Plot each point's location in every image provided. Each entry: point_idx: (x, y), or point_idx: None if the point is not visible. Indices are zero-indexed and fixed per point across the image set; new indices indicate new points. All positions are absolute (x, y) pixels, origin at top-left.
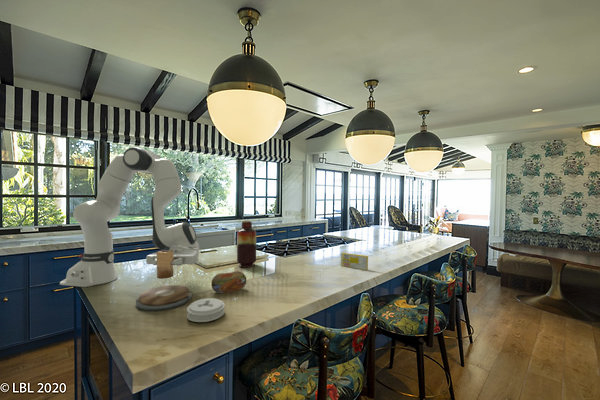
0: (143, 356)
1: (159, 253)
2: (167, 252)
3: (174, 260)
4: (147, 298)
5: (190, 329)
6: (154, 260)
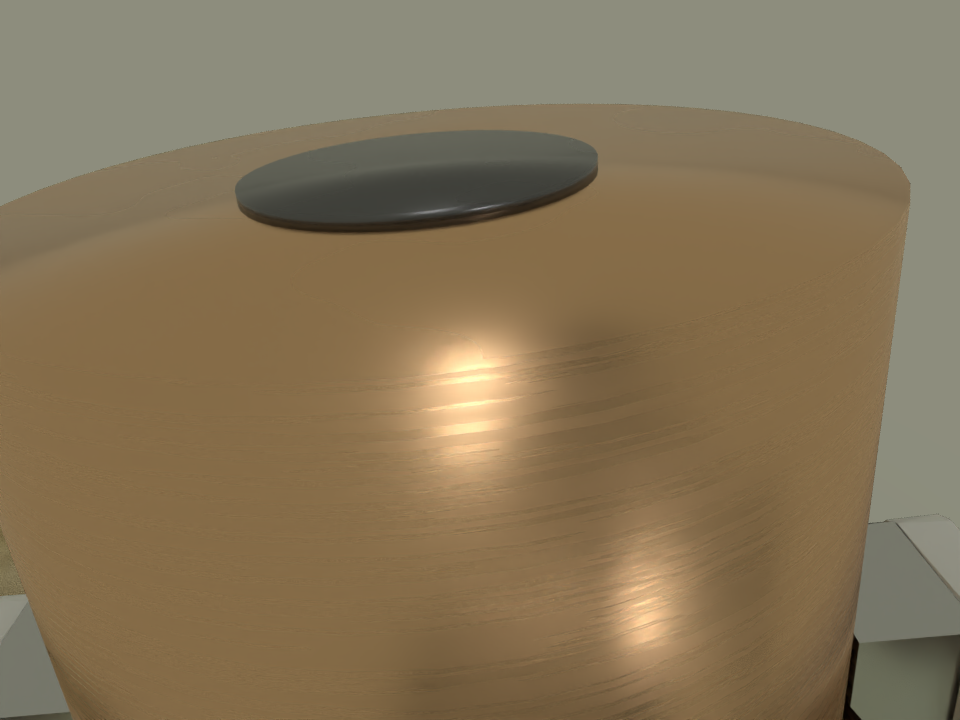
0: None
1: (496, 111)
2: (216, 157)
3: (20, 635)
4: None
5: (17, 580)
6: (952, 548)
